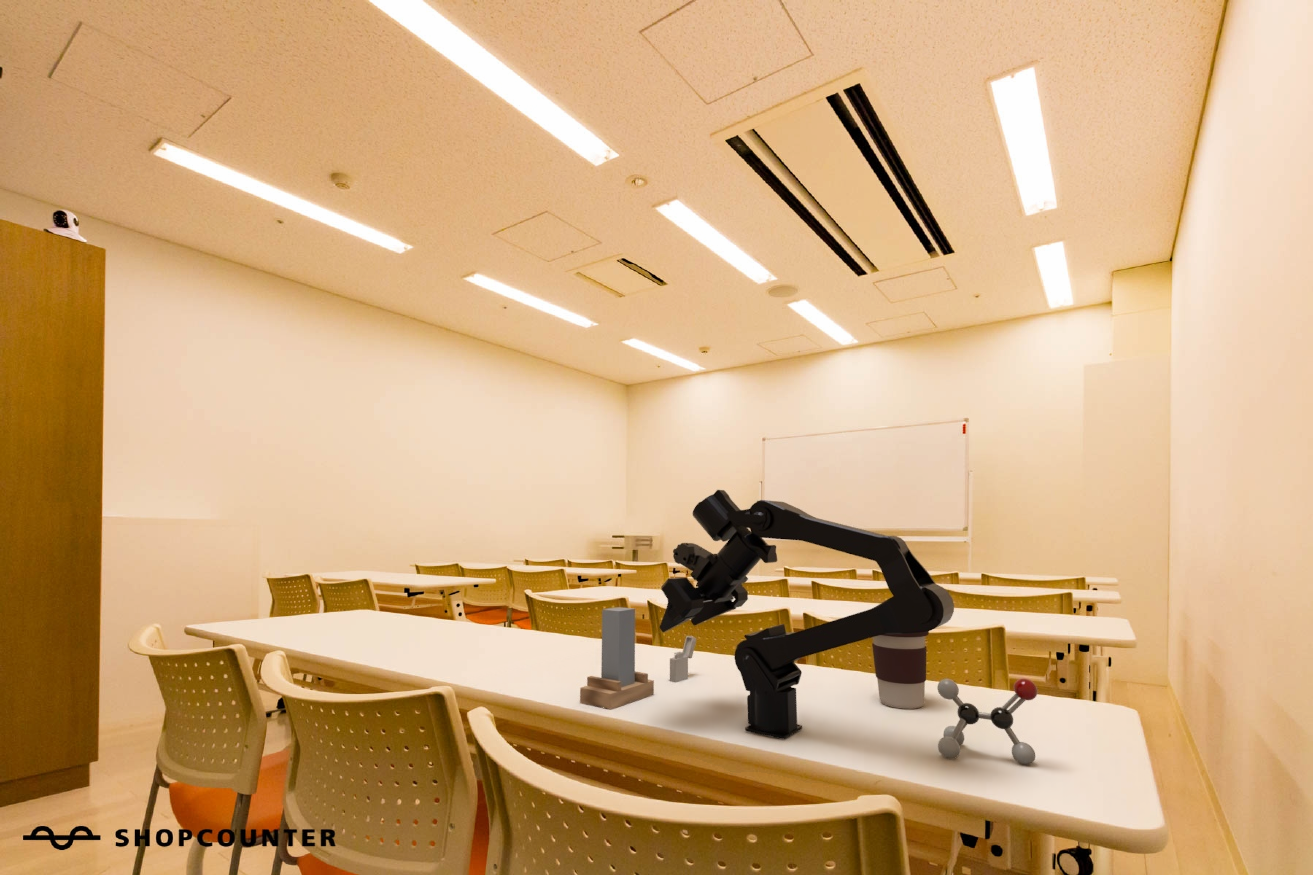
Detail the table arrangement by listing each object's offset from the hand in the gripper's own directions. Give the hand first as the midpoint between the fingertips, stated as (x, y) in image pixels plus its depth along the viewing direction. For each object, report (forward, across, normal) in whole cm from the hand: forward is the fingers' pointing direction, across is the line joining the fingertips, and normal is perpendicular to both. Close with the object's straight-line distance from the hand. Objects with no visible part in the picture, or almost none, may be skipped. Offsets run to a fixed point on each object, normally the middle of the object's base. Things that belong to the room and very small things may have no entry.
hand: (677, 626), depth 107 cm
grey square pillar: (+17, 0, -1) cm, 17 cm away
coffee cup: (-10, -27, +30) cm, 42 cm away
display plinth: (+19, 0, 0) cm, 19 cm away
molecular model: (-22, -7, +42) cm, 48 cm away
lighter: (+19, -20, +1) cm, 27 cm away
